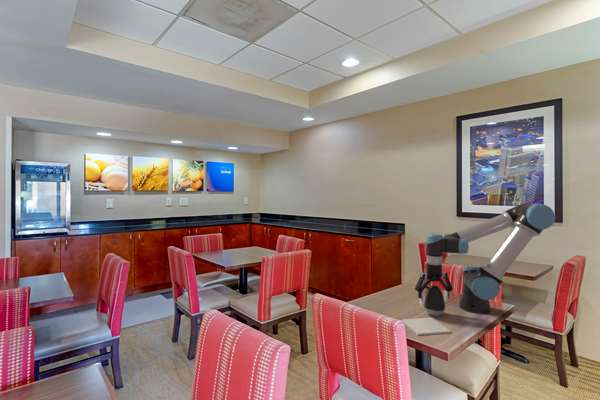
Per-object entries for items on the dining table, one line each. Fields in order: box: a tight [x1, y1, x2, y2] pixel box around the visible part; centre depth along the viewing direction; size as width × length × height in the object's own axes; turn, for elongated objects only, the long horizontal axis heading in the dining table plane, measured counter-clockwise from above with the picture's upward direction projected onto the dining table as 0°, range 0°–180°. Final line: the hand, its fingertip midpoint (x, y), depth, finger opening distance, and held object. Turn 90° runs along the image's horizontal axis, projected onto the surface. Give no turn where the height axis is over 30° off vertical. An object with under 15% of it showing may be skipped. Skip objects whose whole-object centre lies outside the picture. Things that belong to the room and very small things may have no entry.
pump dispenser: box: [423, 284, 446, 317], centre depth 166 cm, size 10×10×15 cm
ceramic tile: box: [401, 317, 452, 336], centre depth 151 cm, size 16×16×1 cm
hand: (433, 303), depth 166 cm, fingers open, 13 cm apart
